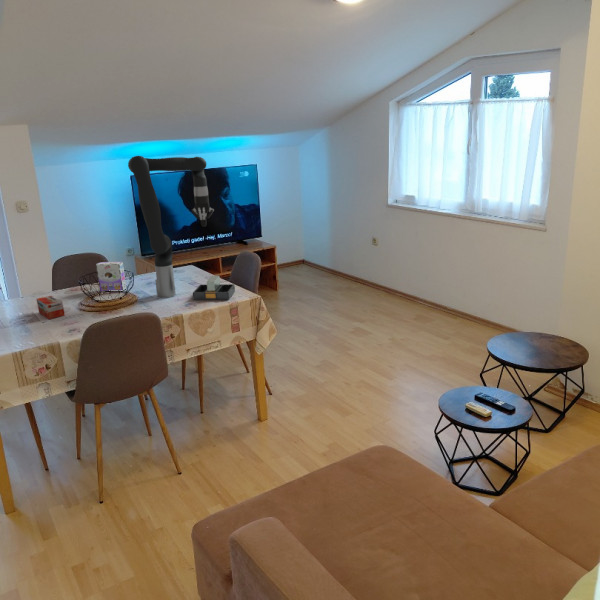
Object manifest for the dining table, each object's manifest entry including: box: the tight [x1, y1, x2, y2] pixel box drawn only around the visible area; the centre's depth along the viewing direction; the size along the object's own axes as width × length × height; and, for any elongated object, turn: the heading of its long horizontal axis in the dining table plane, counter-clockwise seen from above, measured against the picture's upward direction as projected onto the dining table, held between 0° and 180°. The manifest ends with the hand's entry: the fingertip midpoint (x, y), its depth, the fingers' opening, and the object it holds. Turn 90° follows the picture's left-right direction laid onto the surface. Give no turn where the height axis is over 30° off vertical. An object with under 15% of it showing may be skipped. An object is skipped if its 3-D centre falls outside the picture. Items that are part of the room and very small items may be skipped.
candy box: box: [95, 261, 127, 292], centre depth 328 cm, size 14×6×16 cm, turn 84°
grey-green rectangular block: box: [206, 275, 221, 292], centre depth 311 cm, size 4×12×9 cm, turn 174°
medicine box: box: [36, 295, 66, 320], centre depth 292 cm, size 15×8×8 cm, turn 42°
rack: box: [192, 283, 236, 301], centre depth 312 cm, size 19×16×4 cm
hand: (204, 226), depth 319 cm, fingers closed
